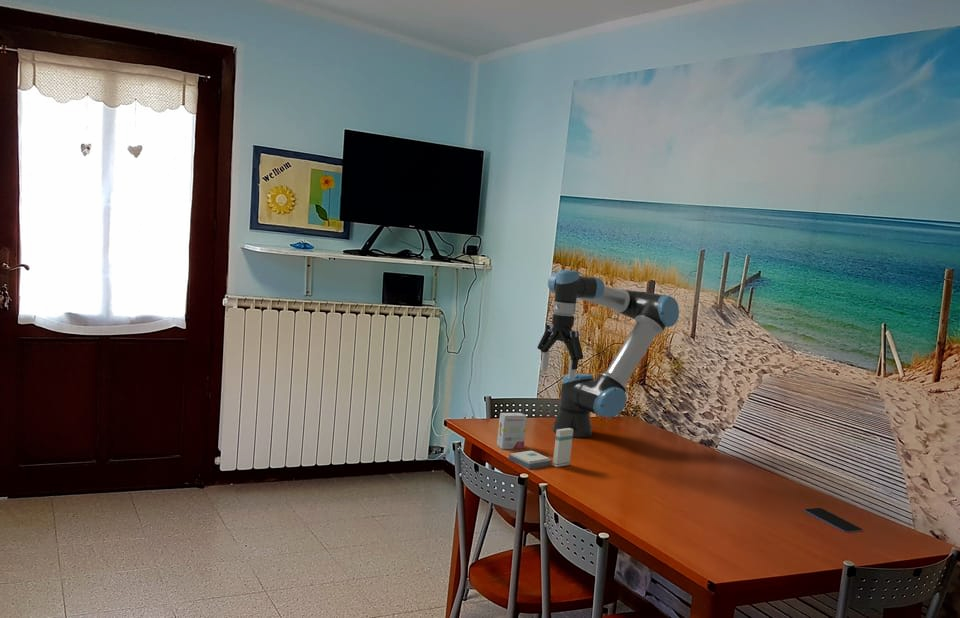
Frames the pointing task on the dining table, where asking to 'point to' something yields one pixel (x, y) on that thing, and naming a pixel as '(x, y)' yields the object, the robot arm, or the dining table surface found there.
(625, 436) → the dining table surface
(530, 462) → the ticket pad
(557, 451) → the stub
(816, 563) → the dining table surface
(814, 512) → the smartphone
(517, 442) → the ink box
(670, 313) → the robot arm
